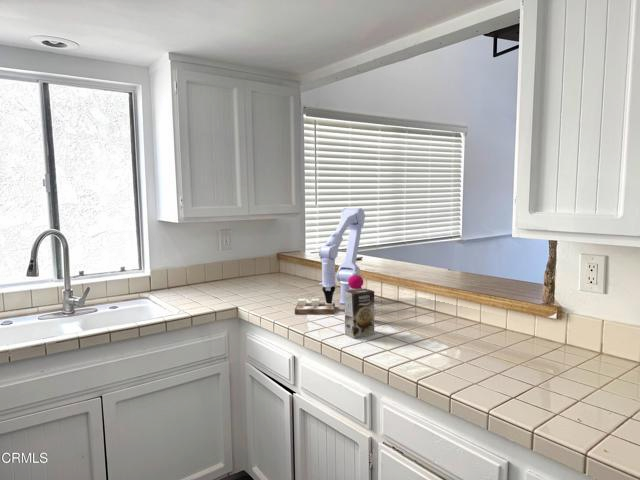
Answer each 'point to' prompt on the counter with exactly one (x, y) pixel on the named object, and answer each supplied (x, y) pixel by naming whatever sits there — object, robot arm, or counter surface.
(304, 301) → the button
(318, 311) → the button board
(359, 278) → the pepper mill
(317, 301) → the middle button
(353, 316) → the coffee box
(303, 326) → the counter surface
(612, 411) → the counter surface
